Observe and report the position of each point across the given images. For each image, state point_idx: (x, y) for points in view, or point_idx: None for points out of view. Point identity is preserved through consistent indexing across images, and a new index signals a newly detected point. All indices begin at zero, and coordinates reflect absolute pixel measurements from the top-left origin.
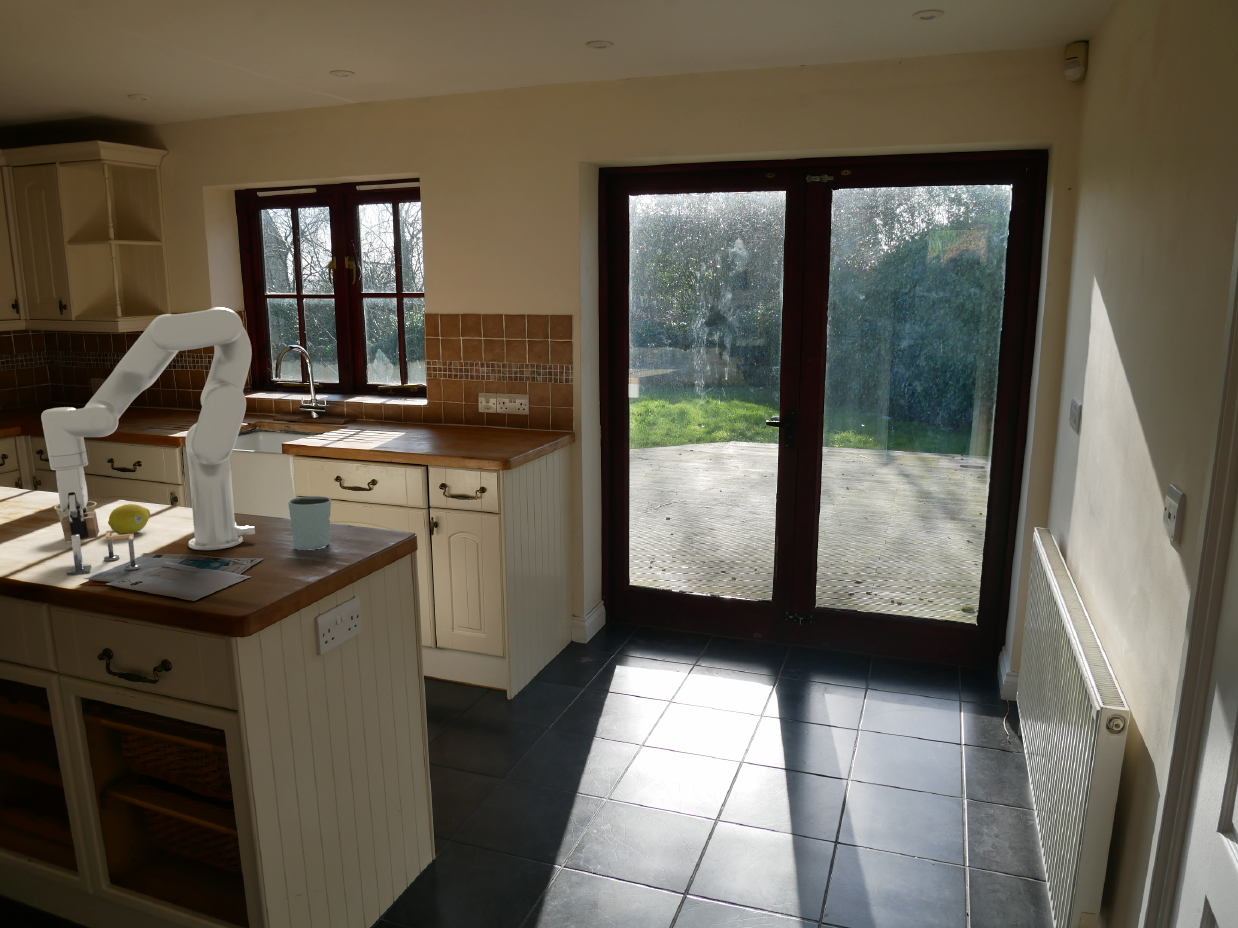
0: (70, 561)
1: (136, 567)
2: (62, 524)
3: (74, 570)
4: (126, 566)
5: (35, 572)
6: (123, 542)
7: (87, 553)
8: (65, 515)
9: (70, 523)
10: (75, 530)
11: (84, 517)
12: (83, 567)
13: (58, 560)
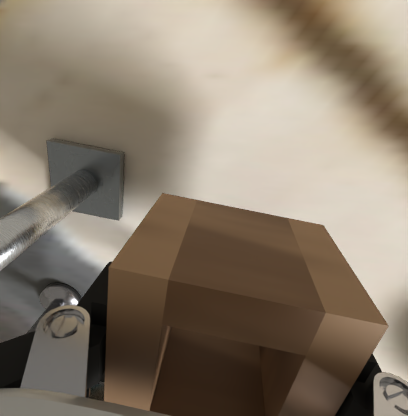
0: (251, 168)
1: (44, 305)
2: (120, 254)
3: (68, 166)
4: (57, 290)
5: (153, 22)
6: (393, 334)
7: (332, 231)
8: (373, 329)
9: (91, 302)
10: (95, 282)
11: (140, 400)
12: (98, 196)
13: (302, 129)
